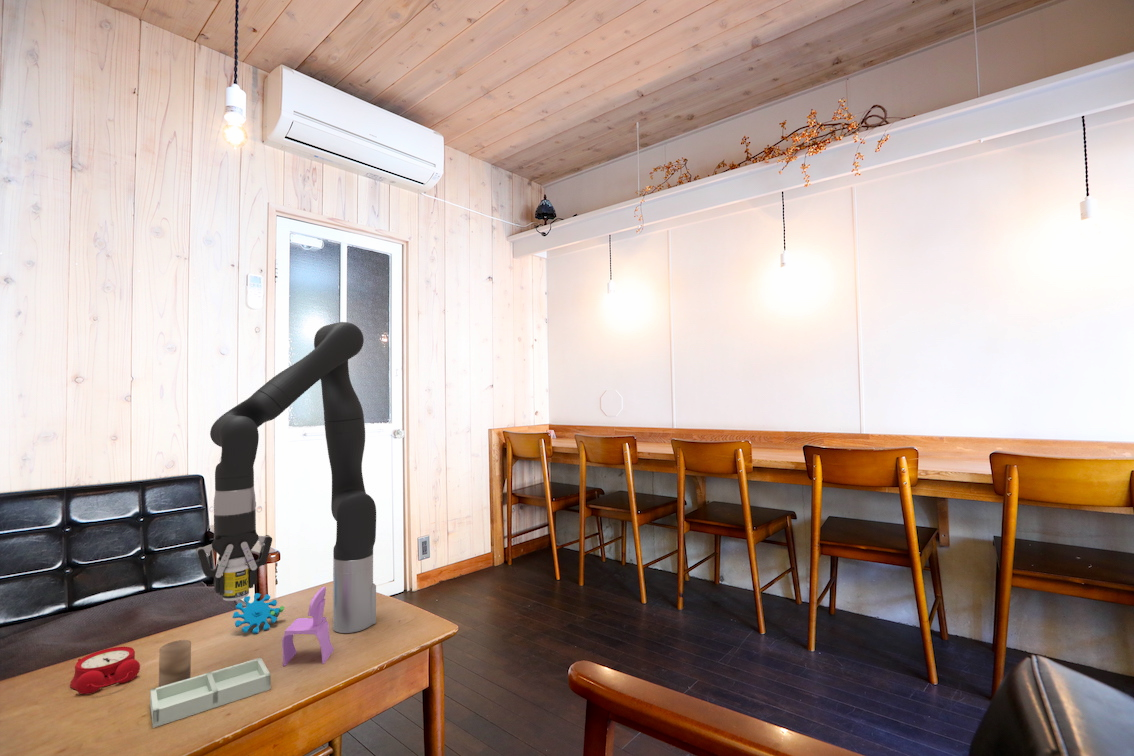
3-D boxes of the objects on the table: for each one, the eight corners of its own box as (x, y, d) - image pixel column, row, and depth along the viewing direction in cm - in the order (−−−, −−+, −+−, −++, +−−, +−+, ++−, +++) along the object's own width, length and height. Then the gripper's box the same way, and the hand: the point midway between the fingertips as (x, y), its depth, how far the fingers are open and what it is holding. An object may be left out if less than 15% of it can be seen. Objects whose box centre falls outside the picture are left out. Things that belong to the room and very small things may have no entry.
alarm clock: (132, 640, 116) (146, 646, 106) (133, 671, 115) (147, 679, 105) (67, 658, 108) (75, 666, 99) (67, 691, 107) (75, 702, 97)
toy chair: (294, 650, 118) (295, 582, 119) (335, 647, 119) (336, 580, 120) (278, 669, 110) (279, 596, 111) (322, 666, 111) (322, 594, 112)
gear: (231, 633, 123) (235, 593, 130) (227, 645, 126) (230, 605, 133) (284, 627, 129) (285, 589, 136) (279, 639, 132) (280, 601, 139)
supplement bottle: (236, 602, 109) (236, 561, 109) (217, 600, 109) (216, 560, 110) (254, 593, 113) (254, 553, 113) (235, 592, 114) (235, 553, 114)
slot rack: (260, 671, 109) (260, 657, 109) (270, 689, 102) (270, 674, 102) (150, 705, 97) (150, 689, 98) (152, 727, 91) (153, 711, 91)
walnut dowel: (188, 677, 107) (189, 637, 107) (191, 687, 103) (192, 646, 103) (157, 686, 104) (158, 645, 104) (159, 697, 100) (160, 654, 100)
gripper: (268, 501, 119) (269, 577, 119) (191, 512, 110) (192, 595, 109) (277, 506, 114) (277, 586, 113) (196, 518, 104) (197, 605, 104)
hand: (235, 590), depth 111 cm, fingers closed on supplement bottle, 4 cm apart
